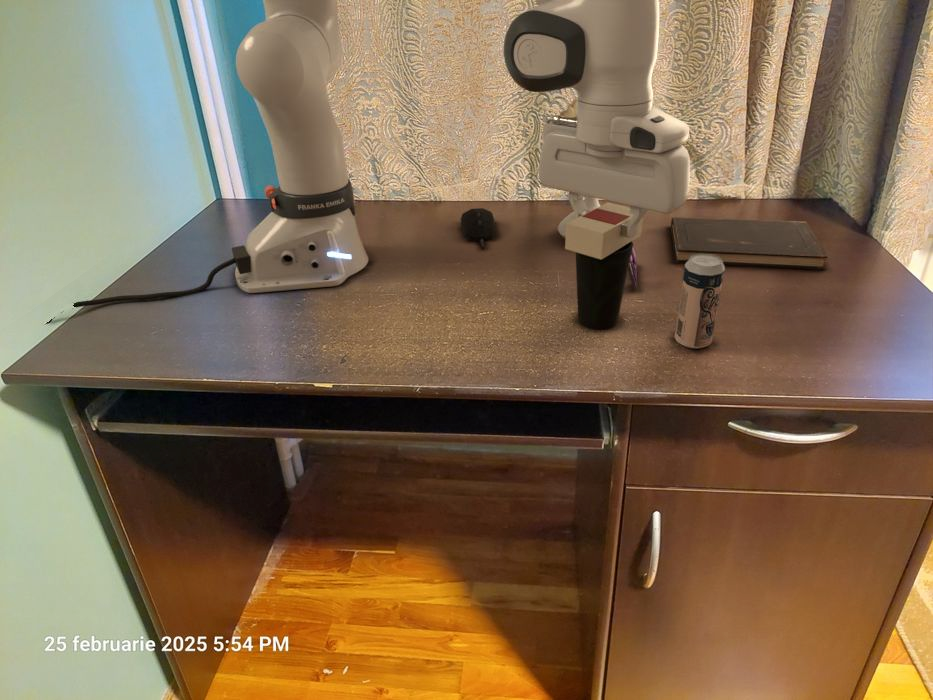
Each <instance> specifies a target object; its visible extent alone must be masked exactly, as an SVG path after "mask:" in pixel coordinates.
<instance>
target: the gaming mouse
mask: <svg viewBox="0 0 933 700" xmlns="http://www.w3.org/2000/svg"><path fill="white" fill-rule="evenodd" d="M495 225H496V224H495V218H494V214H493V212H492V211H490V210H488V209H486V208H483V207H479V208H477V207H476V208H470V209H468V210H467V211H465V212H463V213H462V214H461V217H460V227H461V230H462V232H463V235H464V237H465V238H466V239H468V241H477V242H479V243H480V245H481V249H483V250H484V249H485V242H484V241H487V240H488V241H489V240H492V239H493V238H495V236H496V226H495Z"/></svg>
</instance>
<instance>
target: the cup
mask: <svg viewBox="0 0 933 700" xmlns="http://www.w3.org/2000/svg"><path fill="white" fill-rule="evenodd" d="M633 248H634V242H633V241H631V242H630V243H628V244H626V245H625V246H623V247H621V248H620V249H618V250H616V251H615V252H613V253H611V254H610V255H608V256H606V257H605V258H603V259H598V258H594V257H591V256H587V255H584V254H581V253H577V252H575V273H576V299H577V321H578V323H579V324H580V325H581V326H582V327H584V328H586V329H589V330H593V331H594V330H595V331H604V330H609V329H612V328H614V327H615V326H616V325H617V324H618V320H619V315H620V311H621V308H622V307H621V306H622V301H623V296H624V291H625V286H626V281H627V278H628V273H629V270H628V268H629V263H630V258H631V254H632V253H633V252H632V249H633Z"/></svg>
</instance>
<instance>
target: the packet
mask: <svg viewBox="0 0 933 700" xmlns="http://www.w3.org/2000/svg"><path fill="white" fill-rule="evenodd" d="M633 215H634V214H631V213H630V206H627V205H623V204H619V203H614V202H610V201H607V202H605V203H604V204H600V206H599V207H597V208H595V209H593V210H591V211H589V212H588V213H586V214H584V215H582V216H580V217H578V218H576V219H574V220H572V221H570V222H568V223H566V239H565V241H564V242H565V243H564V249H565V250H567V251H570V252H574V253H576V252H577V253H581V254H584V255H587V256H591V257H594V258H598V259H603V258H605V257H606V256H608V255H610V254H611V253H613V252H615V251H616V250H618V249H620V248H621V247H623V246H625V245H626V244H628V243H630V242H631V241H632V242H633V241H635V240H637V239H638V238H640V237H641V236H642V231H643V222H644V217H643V218H642V219H641V220H640V221H639V223H638V227H637V234H636V236H634V237H633V238H627V237H623V236H621V235H620V232H621V224H622V223H624V222H626V221H628V220H630V219H631V218H632V216H633Z"/></svg>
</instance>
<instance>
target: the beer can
mask: <svg viewBox="0 0 933 700" xmlns="http://www.w3.org/2000/svg"><path fill="white" fill-rule="evenodd" d="M725 270H726V266H725V265H724V264H723V261H722V260H721V259H720V258H719V257H718V256H715V255H712V254H701V253H700V254H695V255H692V256H691V257H690V259H689V261H688V262H686V263H685V264H684V269H683V276H682V284H681V290H680V297H679V303H678V311H677V317H676V324H675V331H674V339H675V341H676V342H677V343H678V344H680V345H681V346H683V347H684V348H685V347H686V348H689V349H694V350H695V349H702V348H706V347H708V346H710V345H711V344H712V342H713V337H714V330H715V325H716V320H717V313H718V309H719V303H720V298H721V293H722V286H723V280H724V277H725V276H724V274H725Z"/></svg>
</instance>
